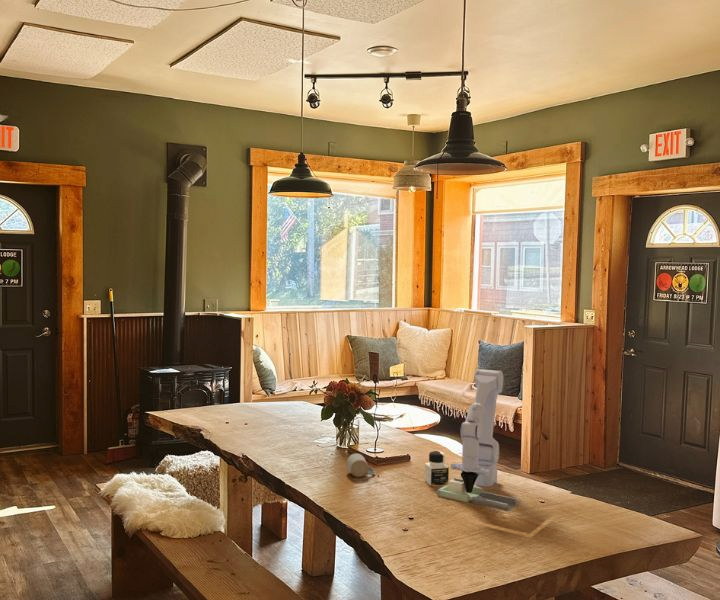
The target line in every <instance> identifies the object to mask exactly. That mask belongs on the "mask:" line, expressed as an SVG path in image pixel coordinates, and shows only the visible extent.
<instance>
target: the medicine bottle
mask: <svg viewBox="0 0 720 600" xmlns="http://www.w3.org/2000/svg"><path fill="white" fill-rule="evenodd" d="M428 454H429V455H428V462H425V463H424V482H425V483H427V484H428V485H429V486H430V487H440V485H443V486H445V485H447V484H449V474H450V473H449V471H450V467H449V466H448V465H446V454H445V452H443V451H440V450H434V451H433V450H432V451H430V452H429V453H428Z"/></svg>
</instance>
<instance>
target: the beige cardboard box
mask: <svg viewBox="0 0 720 600" xmlns="http://www.w3.org/2000/svg"><path fill="white" fill-rule="evenodd" d="M448 484H449V491H450V492H455V493H459V494H464V495H467V494H468V493H467V492H466V487H465V484H464V481H463V479H462V478H458V477H454V478H452V479H451V480H450V479H449V480H448Z"/></svg>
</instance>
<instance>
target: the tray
mask: <svg viewBox="0 0 720 600" xmlns="http://www.w3.org/2000/svg"><path fill="white" fill-rule="evenodd" d="M482 491H483V487H482V486H477V485H474V487H473V491H472V492H471V493H468V494H467V495H464V494H459V493H455V492H450V491H449V483H448V484H447V485H443V486H441V487H440V488H438V489H437V491H436V497H442V498H447V499H451V500H456V501H460V502H463V503H464V502H465V503H468V501H470V500H472V497H477V496H478V495H480V494H481V492H482Z"/></svg>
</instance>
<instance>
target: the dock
mask: <svg viewBox="0 0 720 600" xmlns="http://www.w3.org/2000/svg"><path fill="white" fill-rule="evenodd" d="M467 503H468V504H471V505H478V506H481V507H487V508H490V509H494V510H500V511H504V512H509V511H510V510H512V509H513V508H514V507H516V506H517V505H519V504H520V503H521V501H520V500H517V498H516V497H511V496H507V495H501V494H499V493H493V492H489V491H483V490H482V492H481V494H480V495H478V496H477V497H472V500H470V501H468V502H467Z"/></svg>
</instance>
